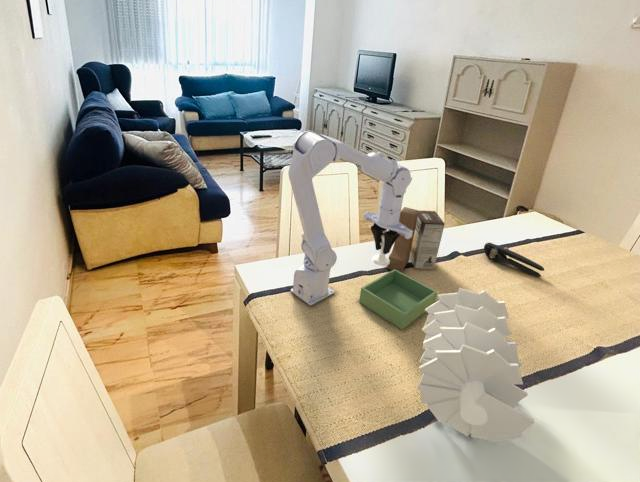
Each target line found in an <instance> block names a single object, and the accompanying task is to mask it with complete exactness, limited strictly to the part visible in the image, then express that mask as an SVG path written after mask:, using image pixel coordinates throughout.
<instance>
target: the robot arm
mask: <svg viewBox="0 0 640 482" xmlns="http://www.w3.org/2000/svg"><path fill="white" fill-rule="evenodd" d="M340 159H343V160H345V161H348V162H350V163H352V164H355V165H358V166H359V167H360V168H361V171H362V173H363V174H365V175H367V176H370V177H372V178H374V179H375V180H378V181H381V182H382V187H381V193H380V200H379V204H378V205H379V206H378V212H377V213H378V214H377V213H374V212H370V211H367V212H364V213H363V220H364V221H369V222H371V223H373V225H371V226H370V231H371V233H372V236H373V239H374V245H375V246H374V247H375V251H380V250H381V246H382V245H380V242H382V238H381V236H382V235H384V249H383V253H384V254H385V255H388V254H390V252H391V251H392V248H393V247H394V243H395V241H396V239H397V238H398V237H399V236H400V235H402V236H405V238H406V239H409V238H411V237H412V234H413V231H412V230H410V229H408V228H407V227H405V226H404V225H403V224H401V223H400V222H399V218H400V212H401V210H402V206H403V201H404V195H405V193H406V192H407V189H408V187H409V186H410V184H411V183H412V181H413V177H412V175H411V172H410V169H408V168H407V167H405V166H403V165H401V164H399V163H398V161H397V160H395V159H389V158H387V157H385V154H384V153H383V152H380V151H377V152H373V151H372V152H369V153H367V154H366V153H364V152H362V151H360V150H358V149H357V148H354V147H352V146H351V145H348V144H347V143H344V142H343V141H341V140H339V139H336V138H334V137H331V136H328V135H325V134H321V133H319V134H318V133H317V132H315V131H314V130H305V131H303V132H301V133H300V134H299V136H298V137H297V138H296V140H295V141H294V142H293V143H292V156H291V160H290V162H289V163H290V164H289V168H288V178H289V182H290V186H291V190H292V193H293V194H292V195H293V197H294V201H295V206H296V208H297V212H298V215H299V216H298V217H299V220H300V224H301V227H302V233H301V238H302V239H301V244H300V247H301V251H302V252H303V253H304V258H303V263H302V264H301V266H300V267H299V268H297V269H296V270H295V271H294V273H293V283H292V288H291V289H290V292H291V293H292V294H294V295H295V296H296V297H298V298H299V299H300V300H302V301H303V302H304V303H306V304H307V305H309V306H313V305H315V304H317V303H318V302H320V301H322V300H324V299H326V298H328V297H330V296H331V295H333V294H335V290H334V289H332V288H331V287H329V283H330V276H331V275H330V274H331V269H332V268H333V267H334V266H335V264H336V262H337V259H338V256H337V253H336V252H335V250H333V249H332V247H331V246H332V245H331V243H330V241H329V239H328V237H327V235H326V233H325V229H324V226H323V221H322V217H321V212H320V208H319V204H318V199H317V195H316V191H315V187H314V183H313V178H314V177H315V176H317V175H318V174H319V173H321V172H322V171H323V170H324V169H325V168H327V167H328V166H329V165H330V164H331V163H332V162H334V163H336V162H338V161H339V160H340ZM385 230H387V232H385V233H382V232H383V231H385Z"/></svg>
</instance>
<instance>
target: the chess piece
mask: <svg viewBox="0 0 640 482" xmlns="http://www.w3.org/2000/svg"><path fill="white" fill-rule="evenodd" d="M387 231H388V229H387V230H385V231H383V232H382V233H385V232H387ZM381 238H382V242H380V245H382V246H381V249H380V250H379V252H378V254H375V255H373V256H372V259H371V261H372V263H373V264H375V265H378V266H381V267H385V266H386V267H387V265H389V264H390V260H389V256H386V254H384V253H383V249H384V235H382V236H381Z"/></svg>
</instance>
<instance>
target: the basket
mask: <svg viewBox="0 0 640 482" xmlns="http://www.w3.org/2000/svg"><path fill="white" fill-rule="evenodd" d="M437 297H438V291H437V290H435V289H433V288H432V287H429V286H427V285H426V284H424V283H422V282H420V281H418V280H416V279H414V278H412V277H411V276H409V275H407V274H405V273H403V272H399V271H397V270H395V269H394V270H389V272H387V273H385V274H383V275H382V276H379V277H377V278H376V279H374V280H372V281H371V282H369V283H367V284H366V285H363V286H362V287H360V293H359V300H358V302H359V303H360V304H361V305H362V306H365V307H366V308H368V309H369V310H371V311H373V312H374V313H375V314H377V315H378V316H380V317H382V318H383V319H385V320H386V321H388V323H391V324H392V325H394V326H395V327H397V328H399V329H400V330H404V329H405V328H406V327H408V326H409V325H410V324H411V323H413V322H414V321H415V320H417V319H418V318H419V317H421V316H423V315H424V314H425V313H427V312H426V311H425V309H426V308H427V307H429V306H430V305H432V304H433V303H435V302H436V300H437Z"/></svg>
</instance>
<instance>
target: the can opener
mask: <svg viewBox="0 0 640 482" xmlns="http://www.w3.org/2000/svg"><path fill="white" fill-rule="evenodd" d="M483 252H484V255H485V256H486V258H487V259H488V260H490V261H492V262H501V263H505V264H508V265H510V266H513V267H514V268H516V269H518V270H519V271H522V272H524V273H525V274H528V275H530V276H532V277H535V278H541V277H542V275H541V273H539V272H538V271H541V272H544V271H545V267H543V266H542V265H541V264H539V263H536V261H533V260H531V259H530V258H527V257H526V256H524V255H522V254H520V253H517V252H515V251H512V250H510V249H509V247H503V246H501V245H499V244H495V243H493V242H486V243H485V244H484V245H483ZM526 265H527V266H526ZM528 266H529V267H528ZM532 268H533V269H532ZM534 269H535V270H534ZM536 270H538V271H536Z"/></svg>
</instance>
